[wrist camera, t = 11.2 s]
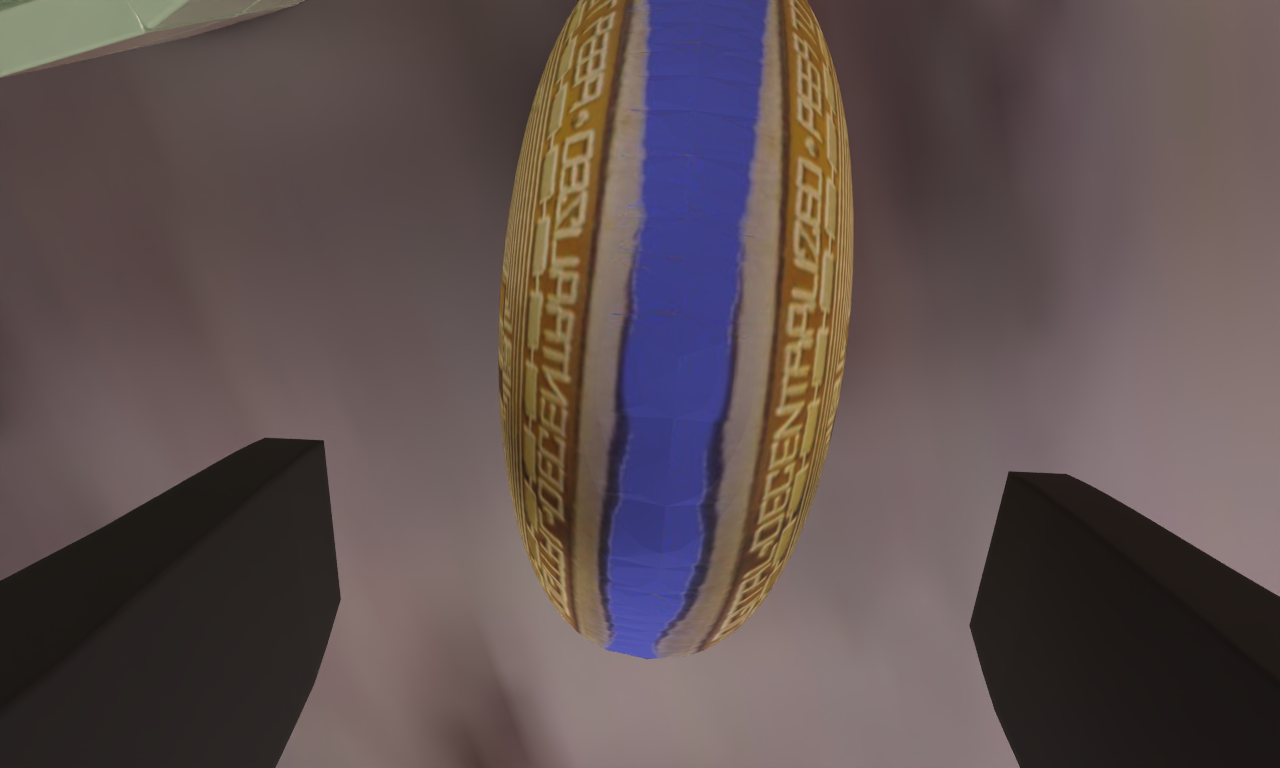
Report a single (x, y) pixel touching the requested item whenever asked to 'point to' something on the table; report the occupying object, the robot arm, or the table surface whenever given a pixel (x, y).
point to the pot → (108, 27)
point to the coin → (674, 312)
